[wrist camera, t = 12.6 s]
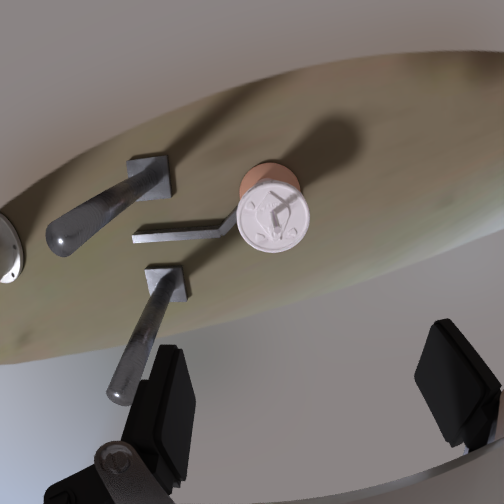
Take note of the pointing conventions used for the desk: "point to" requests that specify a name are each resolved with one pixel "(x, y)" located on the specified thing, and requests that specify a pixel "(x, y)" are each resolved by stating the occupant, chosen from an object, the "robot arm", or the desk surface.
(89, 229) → the post
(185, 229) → the bent rail
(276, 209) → the smoothie
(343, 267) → the desk surface
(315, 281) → the desk surface
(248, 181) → the coaster
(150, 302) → the post
